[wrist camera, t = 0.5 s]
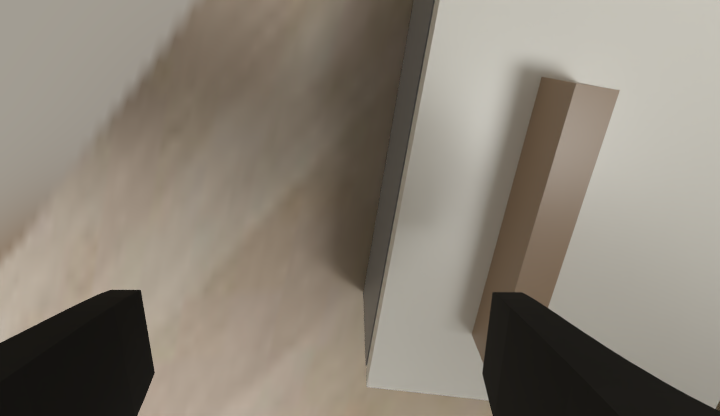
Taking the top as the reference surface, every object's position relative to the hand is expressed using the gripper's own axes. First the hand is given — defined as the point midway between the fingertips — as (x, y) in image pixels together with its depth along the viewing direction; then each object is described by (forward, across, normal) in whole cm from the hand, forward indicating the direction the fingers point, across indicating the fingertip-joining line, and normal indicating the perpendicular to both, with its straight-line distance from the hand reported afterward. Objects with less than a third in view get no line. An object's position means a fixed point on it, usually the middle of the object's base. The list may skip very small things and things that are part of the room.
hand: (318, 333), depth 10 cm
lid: (+5, -8, -1) cm, 9 cm away
